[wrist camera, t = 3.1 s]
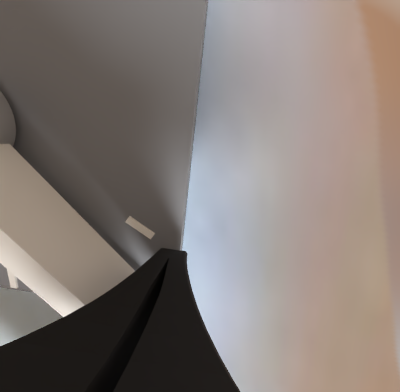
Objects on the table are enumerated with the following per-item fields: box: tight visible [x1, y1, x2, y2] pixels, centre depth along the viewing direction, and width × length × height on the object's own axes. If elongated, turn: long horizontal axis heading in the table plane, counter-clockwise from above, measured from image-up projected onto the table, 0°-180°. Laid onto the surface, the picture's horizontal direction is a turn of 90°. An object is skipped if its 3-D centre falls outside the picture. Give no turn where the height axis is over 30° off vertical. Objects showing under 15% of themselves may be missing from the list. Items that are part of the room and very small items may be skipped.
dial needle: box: [0, 91, 135, 317], centre depth 8 cm, size 13×4×4 cm, turn 38°
